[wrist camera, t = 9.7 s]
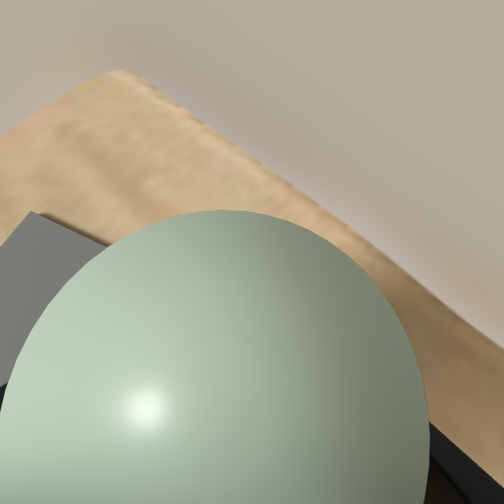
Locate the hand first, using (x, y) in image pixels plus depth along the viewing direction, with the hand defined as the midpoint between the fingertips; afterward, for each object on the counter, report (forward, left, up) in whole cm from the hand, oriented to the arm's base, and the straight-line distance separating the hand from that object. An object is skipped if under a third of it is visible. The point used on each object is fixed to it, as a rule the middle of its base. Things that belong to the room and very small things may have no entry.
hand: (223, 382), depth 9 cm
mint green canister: (0, 0, -9) cm, 9 cm away
